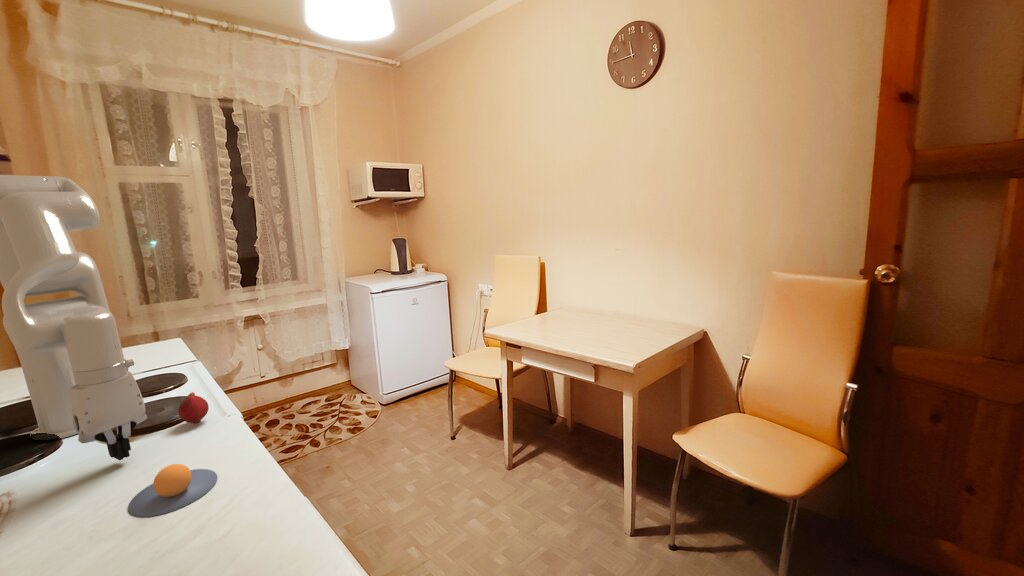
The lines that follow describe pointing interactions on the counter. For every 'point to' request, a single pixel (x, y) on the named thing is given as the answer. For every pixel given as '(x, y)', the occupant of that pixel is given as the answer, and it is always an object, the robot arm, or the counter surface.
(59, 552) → the counter surface
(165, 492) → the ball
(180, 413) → the onion
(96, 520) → the counter surface
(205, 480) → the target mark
